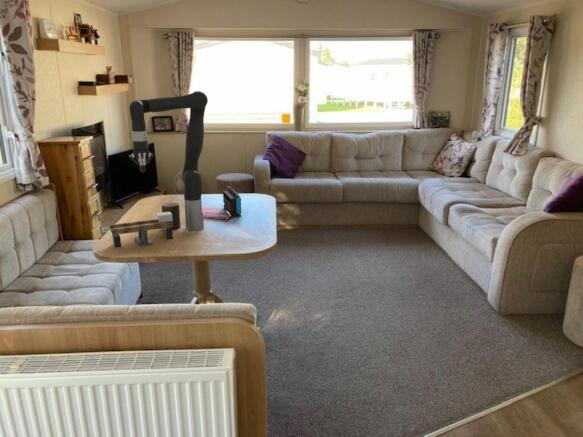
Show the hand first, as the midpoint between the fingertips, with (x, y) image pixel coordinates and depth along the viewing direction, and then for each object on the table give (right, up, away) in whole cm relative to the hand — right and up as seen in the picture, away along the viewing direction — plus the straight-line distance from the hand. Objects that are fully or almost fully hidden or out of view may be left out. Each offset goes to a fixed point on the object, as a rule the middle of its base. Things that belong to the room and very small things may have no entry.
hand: (142, 172), depth 251 cm
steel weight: (+13, -27, -5) cm, 30 cm away
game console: (+42, -21, +44) cm, 65 cm away
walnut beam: (+3, -29, -10) cm, 31 cm away
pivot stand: (+3, -37, -7) cm, 38 cm away
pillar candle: (+12, -30, +15) cm, 36 cm away
